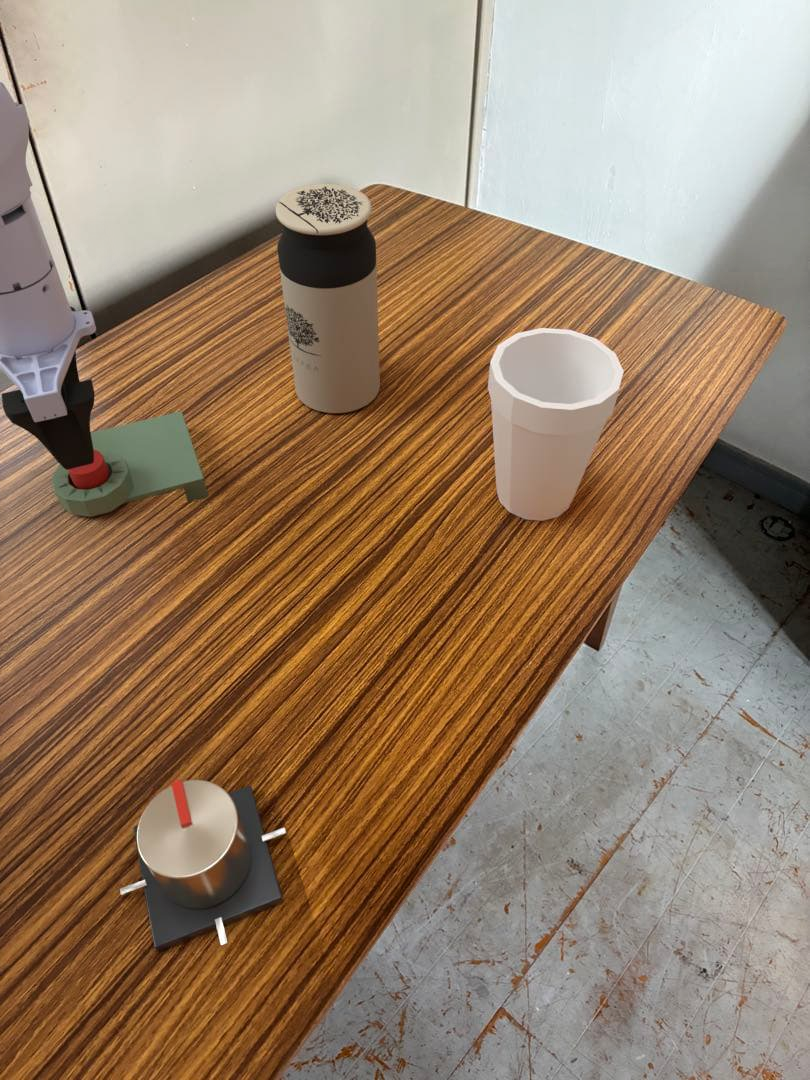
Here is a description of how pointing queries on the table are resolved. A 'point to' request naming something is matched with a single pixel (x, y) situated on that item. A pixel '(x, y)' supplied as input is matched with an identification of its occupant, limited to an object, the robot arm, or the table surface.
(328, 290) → the travel mug
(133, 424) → the button block
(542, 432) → the foam cup
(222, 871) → the metal dial knob
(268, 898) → the metal dial knob base
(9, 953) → the table surface
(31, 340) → the robot arm
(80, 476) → the red button
